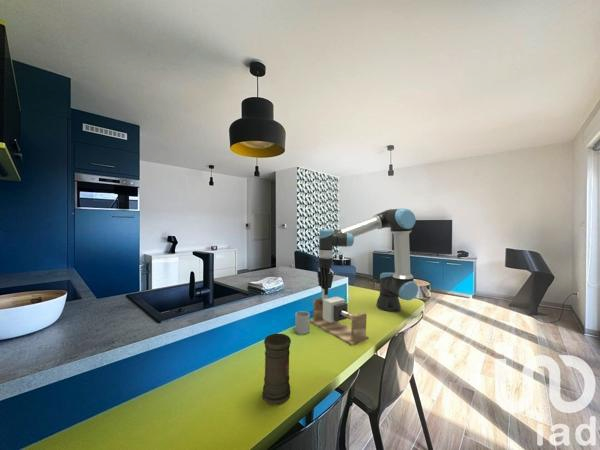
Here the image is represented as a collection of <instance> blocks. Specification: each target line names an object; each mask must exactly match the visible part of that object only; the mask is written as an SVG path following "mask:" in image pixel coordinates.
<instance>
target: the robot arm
mask: <svg viewBox="0 0 600 450" xmlns="http://www.w3.org/2000/svg"><path fill="white" fill-rule="evenodd" d="M416 218H417V217H416V215H415V213H414V212H413V211H412V210H411V209H408V208H393V209H392V208H389V209H386V210H384V211H382V212H379V213H377V214H373V216H372V217H370V218H367V219H365V220H362V221H359V222H356V223H353V224H351V225H348V226H346V227H343V228H340V229H337V230H333V229H329V228H327V229H323V228H322V229H320V230H319V237H318V239H319V240H318V265H319V266H318V267H317V268H316V269H315V270H316V273H317V281H318V286H319V287H320V288H321V291H320V292H321V297H322V300H323V299H328V295H329V289H331V288H332V285H333V280H334V276H335V273H336V272H335V271H333V269H332V265H333V257H334V256H333V255H334V254H333V252H334V251H333V250H334V248H335V247H345V248H347V247H352V246H353V245H354V244H355V237H358V236H361V235H364V234H366V233H368V232H372V231H374V230H376V229H377V230H382V229H387V228H390V233H392V234H393V250H394V253H393V254H394V255H393V256H394V257H393V258H394V272H382V273H380V275H379V295H378V299H377V301H376V308H378V309H380V310H381V311H386V312H393V313H395V312H400V311H402V304H401V303H400V302H401V301H400V299H401V300H404V301H412V300H414V299H415V298H416V296H417V295H418V293H419V285H418V284H417V283H416V282H415V281H414V275H412V274H411V255H410V233H412V231H413V229H412V228H413V227H414V225H416Z"/></svg>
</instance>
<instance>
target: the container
mask: <svg viewBox="0 0 600 450" xmlns="http://www.w3.org/2000/svg"><path fill="white" fill-rule="evenodd" d="M291 342H292V339H291V338H290V336H289V335H287V334H285V333H272V334H269V335H267V336H266V337H265V338H264V340H263V344H264V349H265V351H264V355H265V356H264V357H265V358H264V360H265V361H264V377H263V381H264V383H263V387H262V398H263V400H264V401H265V403H267V404H269V405H271V406H277V405H282V404H284V403H285V402H287V401H288V400H289V399H290V396H291V385H290V353H291V352H290V346H291Z"/></svg>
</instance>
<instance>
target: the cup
mask: <svg viewBox="0 0 600 450" xmlns="http://www.w3.org/2000/svg"><path fill="white" fill-rule="evenodd" d="M310 316H311V314H310V312H308V311H305V310H304V311H301V310H300V311H297V312H295V317H294V320H295V322H294V323H295V324H294V325H295V328H294V329H295V330H294V332H295V333H296V334H298V335H307V334H309V333H310V323H311V322H310V318H311V317H310Z"/></svg>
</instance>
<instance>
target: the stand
mask: <svg viewBox="0 0 600 450" xmlns="http://www.w3.org/2000/svg"><path fill="white" fill-rule="evenodd" d="M321 301H322V302H323V300H322V296H321V297H317V298H314V299H313V307H312V308H313V310H312V315H313V316H312V319H311V320H310V323H311V324H313V325H314V326H316V327H318V328H320V329H321V330H323V331H325V332H326V333H328V334H329V335H332V336H333V337H335V338H337V339H339V340H340V341H341V342H342V341H343V342H344V343H345V344H348V345H349V346H354V345H357V344H359V343H361V342H364V341H366V340H369V336H368V335H367V313H365V312H360V313H357V314H353V316H352V320H351V327H349V326H348V325H346V324H344V323H342V322H341V321H337V322H336V321H334V322H331V323H330V322H328V321H327V320H325V319H323V306H321V305H320V302H321Z"/></svg>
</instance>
